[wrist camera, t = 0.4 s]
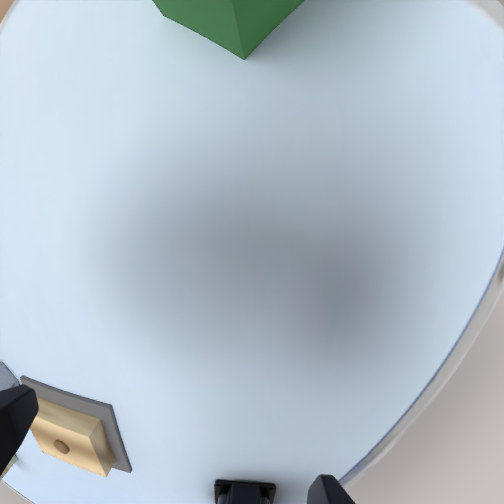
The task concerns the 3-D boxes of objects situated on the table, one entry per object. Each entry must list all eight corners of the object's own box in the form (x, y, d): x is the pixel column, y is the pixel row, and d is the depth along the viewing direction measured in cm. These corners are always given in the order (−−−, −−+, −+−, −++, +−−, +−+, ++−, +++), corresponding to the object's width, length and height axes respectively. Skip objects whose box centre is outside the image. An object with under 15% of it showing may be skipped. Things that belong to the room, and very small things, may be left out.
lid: (115, 460, 26) (105, 480, 22) (52, 437, 26) (40, 453, 23) (100, 419, 24) (86, 440, 21) (34, 395, 24) (18, 412, 21)
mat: (131, 470, 26) (130, 472, 26) (50, 441, 27) (48, 443, 26) (111, 405, 24) (109, 408, 23) (22, 375, 24) (19, 377, 24)
